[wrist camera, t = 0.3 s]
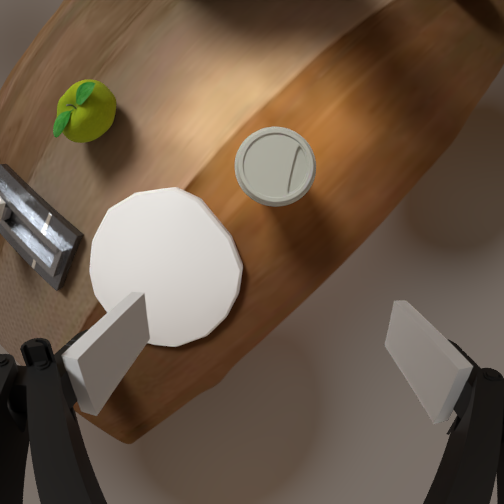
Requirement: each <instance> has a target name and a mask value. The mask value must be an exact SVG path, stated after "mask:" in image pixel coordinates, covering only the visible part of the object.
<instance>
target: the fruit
mask: <svg viewBox="0 0 504 504" xmlns="http://www.w3.org/2000/svg"><path fill="white" fill-rule="evenodd" d="M115 112H116V99H115V97H114V95H113V94H112V92H111V91H110V90H109V89H108V88H107V87H106V86H105V85H104V84H103V83H101V82H99V81H96V80H82V81H79V82H77V83H75V84H73V85H72V86H71V87H70V88H69V89H68V90H67V92H66V93H65V94H64V95H63V96H62V97H61V98H60V100H59V102H58V107H57V119H56V121H55V123H54V128H53V133H54V136H55V137H58V136H59V135H60V134H61V133H62V132H63V134H64V135H65V136H66V137H67V138H68V139H69V140H71V141H73V142H79V143H84V142H90V141H93V140H95V139H97V138H98V137H100V136H101V135H103V134H104V133H105V132H106V131H107V130H108V129H109V128H110V126H111V125H112V123H113V121H114V117H115Z"/></svg>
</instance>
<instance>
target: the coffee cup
mask: <svg viewBox="0 0 504 504" xmlns="http://www.w3.org/2000/svg"><path fill="white" fill-rule="evenodd" d="M235 174H236V178H237V181H238V183H239V185H240V187H241V188H242V190H243V191H244V192H245V193H246V194H247V195H248V196H249V197H250V198H251V199H253V200H254V201H256V202H258V203H260V204H263V205H267V206H274V207H278V206H285V205H289V204H291V203H294V202H296V201H297V200H299V199H300V198H302V197H303V196H304V195H305V194H306V193H307V192H308V190H309V189H310V187H311V185H312V183H313V181H314V178H315V174H316V161H315V156H314V153H313V151H312V149H311V147H310V145H309V144H308V143H307V141H306V140H305V139H304V138H303V137H302V136H300V135H299V134H298V133H296V132H294V131H292V130H290V129H287V128H283V127H268V128H263V129H260V130H258V131H256V132H254V133H253V134H251V135H250V136H249V137H247V138H246V139H245V140H244V142H243V143H242V144H241V146H240V148H239V150H238V152H237V155H236V159H235Z"/></svg>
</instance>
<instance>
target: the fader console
mask: <svg viewBox="0 0 504 504" xmlns="http://www.w3.org/2000/svg"><path fill="white" fill-rule="evenodd" d="M0 197H1V198H2V199H3V200H4V202H5V203H6V204H7V206H8V207H9V208H10V209H11V210H12V211H11V215H10V218H9V219H5V220H3V219H2V218H1V221H0V233H1V235H2V236H3V237H4V238H5V239H6V240H7V241H8V242H9V244H10V245H11V246H12V247H13V248H14V249H15V250H16V251H17V252H18V253H19V254H20V256H21V257H22V258H23V259H24V260H25V261H26V262H27V263H28V264H29V265H30V266H31V267H32V268H33V269H34V270H35V271H36V272H37V273H38V274H39V275H40V276H41V277H42V278H43V279H44V280H45V281H46V282H47V283H49V284H50V285H51V286H52V287H53V288H54V289H55V290H56V291H58V290H59V289H61V288H63V285H64V282H65V280H66V277H67V274H68V271H69V269H70V266H71V263H72V261H73V258H74V256H75V253H76V251H77V248H78V246H79V244H80V241H81V239H82V236H83V233H81V232H80V231H79V230H78V229H77V228H76V227H74V226H73V225H72V224H71V223H70V222H68V221H67V220H66V219H65V218H64V217H63V216H62V215H60V214H59V213H58V212H57V211H56V210H55V209H54V208H53V207H51V206H50V205H49V204H48V203H47V202H46V201H45V200H44V199H43V198H41V197H40V196H39V195H38V194H37V193H36V192H35V191H34V190H33V189H32V188H31V187H30V186H29V185H28V184H27V183H26V182H24V181H23V180H22V179H21V178H20V177H19V176H18V175H17V174H16V173H15V172H14V171H13V170H12V169H11V168H10V167H9V166H8V165H7V164H0Z"/></svg>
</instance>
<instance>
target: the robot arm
mask: <svg viewBox="0 0 504 504" xmlns="http://www.w3.org/2000/svg"><path fill="white" fill-rule="evenodd" d="M149 339H150V334H149V327H148V319H147V311H146V302H145V293H140V292H131V293H130V294H129V295H127V296H126V297H125V298H124V299H123V300H122V301H121V302H119V303H118V304H117V305H116V306H115V307H114V308H113V309H111V310H110V311H109V312H108V313H107V314H106V315H105V316H104V317H102V318H101V319H100V320H99V321H98V322H97V323H96V324H95V325H94V326H92V327H91V328H90V329H89V330H85V331H82V332H80V333H78V334H77V335H76V336H74V337H73V338H72V339H71V340H70V341H69V342H68V343H67V344H66V345H64V346H63V347H62V348H61V349H60V350H59V351H58V352H57V353H56V354H55V355H54V354H53V351H52V348H51V344H50V342H49V341H48V340H47V339H43V338H35V339H31V340H29V341H27V342H25V343H24V344H23V345H22V346H21V348H20V350H21V352H22V355H23V358H24V361H25V364H26V366H18V365H16V362H15V359H14V357H13V356H12V355H10V354H0V504H23V488H24V477H25V467H26V460H27V453H28V447H29V441H30V448H31V456H32V462H33V468H34V474H35V480H36V485H37V489H38V493H39V498H40V502H41V504H107V502H106V500H105V498H104V496H103V493H102V491H101V488H100V486H99V483H98V481H97V479H96V476H95V473H94V471H93V468H92V465H91V463H90V460H89V457H88V454H87V451H86V448H85V445H84V442H83V439H82V435H81V432H80V428H79V425H78V421H77V417H76V414H75V411H74V408H73V405H74V404H75V403H76V401H77V402H78V404H79V407H80V409H81V411H82V412H85V413H89V414H92V415H95V416H97V415H98V413H99V412H100V410H101V409H102V407H103V406H104V404H105V403H106V401H107V400H108V399H109V397H110V396H111V394H112V393H113V391H114V390H115V388H116V387H117V385H118V384H119V382H120V381H121V379H122V378H123V377H124V375H125V374H126V372H127V371H128V369H129V368H130V366H131V365H132V364H133V362H134V361H135V359H136V358H137V356H138V355H139V354H140V352H141V351H142V349H143V348H144V346H145V345H146V344H147V342H148V341H149ZM384 346H385V347H386V349H387V350H388V352H389V353H390V355H391V356H392V358H393V360H394V361H395V363H396V364H397V366H398V367H399V369H400V370H401V372H402V374H403V375H404V377H405V378H406V380H407V382H408V383H409V385H410V386H411V388H412V389H413V391H414V393H415V394H416V396H417V398H418V399H419V401H420V403H421V404H422V406H423V408H424V409H425V411H426V412H427V414H428V416H429V418H430V419H431V421H432V423H433V424H436V423H440V422H444V421H447V420H448V419H449V417H450V415H451V413H452V411H453V409H454V411H455V412H456V414H457V417H456V419H455V420H454V422H453V424H452V426H451V427H450V429H449V431H448V433H447V434H448V435H449V434H450V436H449V439H448V443H447V446H446V448H445V451H444V454H443V457H442V460H441V463H440V465H439V468H438V471H437V473H436V476H435V478H434V480H433V483H432V485H431V487H430V490H429V492H428V494H427V497H426V499H425V501H424V503H423V504H489V503H490V500H491V496H492V491H493V487H494V482H495V477H496V472H497V497H498V504H504V378H503V376H502V375H501V374H500V373H499V372H498V371H496V370H494V369H491V368H482V369H481V368H480V367H479V366H478V365H477V364H476V363H475V362H474V361H473V360H472V359H471V358H470V357H469V356H467V354H466V353H465V352H464V351H462V349H461V348H460V347H459V346H458V345H457V344H456V343H454V342H452V341H450V340H447V339H446V338H445V337H444V336H443V335H442V334H441V333H440V332H439V331H438V330H437V329H436V328H435V327H434V326H433V325H432V324H431V323H429V322H428V320H426V319H425V318H424V317H423V316H422V315H421V314H420V313H419V312H418V311H417V310H416V309H415V308H414V307H413V306H412V305H410V304H409V303H408V302H407V301H406V300H401V301H394V303H393V309H392V314H391V318H390V323H389V328H388V332H387V336H386V340H385V345H384ZM450 432H451V433H450Z"/></svg>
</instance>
